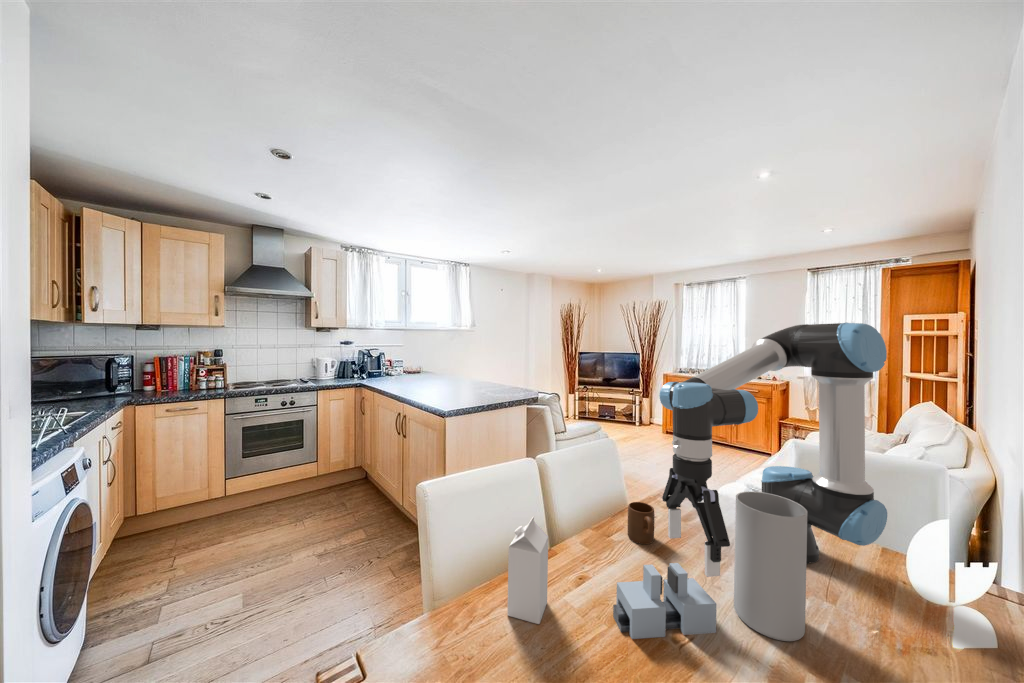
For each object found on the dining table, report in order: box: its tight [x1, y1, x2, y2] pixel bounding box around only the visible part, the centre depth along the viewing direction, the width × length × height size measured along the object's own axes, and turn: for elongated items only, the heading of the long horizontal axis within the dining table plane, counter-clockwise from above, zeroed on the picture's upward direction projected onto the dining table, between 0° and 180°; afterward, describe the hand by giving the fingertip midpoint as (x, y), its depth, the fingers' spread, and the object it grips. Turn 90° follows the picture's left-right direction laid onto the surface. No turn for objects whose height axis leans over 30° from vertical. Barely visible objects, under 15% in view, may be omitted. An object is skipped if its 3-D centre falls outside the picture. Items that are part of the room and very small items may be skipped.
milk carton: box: [507, 515, 549, 625], centre depth 80 cm, size 7×7×19 cm
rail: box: [612, 601, 681, 633], centre depth 77 cm, size 20×4×3 cm, turn 96°
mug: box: [627, 501, 655, 545], centre depth 108 cm, size 12×8×9 cm, turn 2°
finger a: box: [615, 564, 666, 640], centre depth 77 cm, size 8×8×11 cm
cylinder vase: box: [733, 490, 807, 642], centre depth 78 cm, size 12×12×25 cm
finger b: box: [662, 562, 717, 636], centre depth 78 cm, size 8×8×11 cm
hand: (691, 554), depth 78 cm, fingers open, 13 cm apart
